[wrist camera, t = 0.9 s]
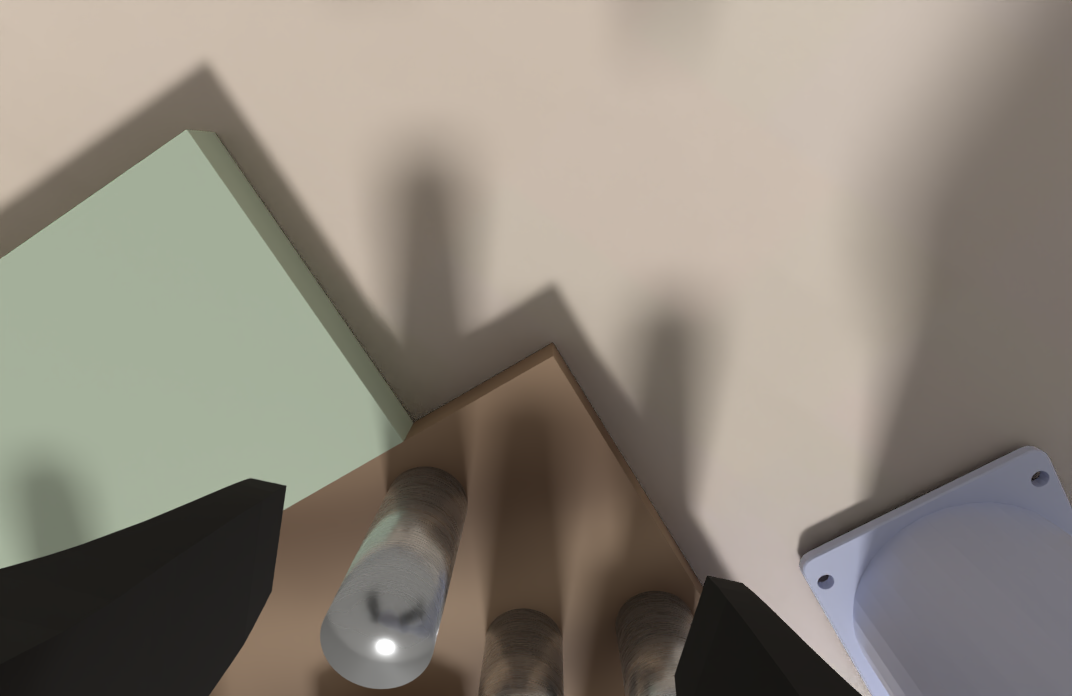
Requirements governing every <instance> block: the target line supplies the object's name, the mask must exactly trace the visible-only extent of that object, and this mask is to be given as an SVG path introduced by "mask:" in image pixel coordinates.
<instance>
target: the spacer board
mask: <svg viewBox="0 0 1072 696" xmlns="http://www.w3.org/2000/svg"><path fill="white" fill-rule="evenodd" d="M424 466H426V467H435V468H438V469H441V470H444V471H446V472H448V473H449V474H451V475H452V476H453V477H455V478H456V479H457V480H458V481H459V483H460V484H461V485H462V487H463V489H464V491H465V493H466V496H467V501H468V509H467V515H466V519H465V523H464V527H463V531H462V535H461V540H460V544H459V548H458V552H457V556H456V560H455V564H454V569H453V573H452V577H451V581H450V585H449V589H448V594H447V598H446V602H445V606H444V610H443V614H442V618H441V623H440V627H439V631H438V635H437V639H436V643H435V647H434V652H433V655H432V658H431V661H430V663H429V665H428V666H427V668H426V669H425V670H424V671H423V672H422V674H421V675H420V676H418V677H417V678H416V679H414V680H413V681H411V682H409V683H407V684H405V685H402V686H399V687H395V688H390V689H373V688H367V687H363V686H360V685H357V684H355V683H352V682H351V681H349V680H347V679H345V678H344V677H342V676H341V675H340V674H339V673H337V672H336V671H335V670H334V669H333V668H332V666H331V665H330V664H329V662H328V661H327V659H326V657H325V655H324V653H323V650H322V648H321V642H320V631H321V626H322V622H323V620H324V618H325V616H326V614H327V612H328V610H329V608H330V606H331V604H332V602H333V600H334V598H335V596H336V594H337V592H338V590H339V588H340V586H341V584H342V582H343V580H344V578H345V576H346V574H347V572H348V570H349V568H350V566H351V564H352V562H353V560H354V558H355V556H356V554H357V552H358V550H359V548H360V546H361V544H362V542H363V540H364V538H365V536H366V534H367V532H368V530H369V528H370V526H371V524H372V522H373V520H374V518H375V516H376V514H377V512H378V510H379V508H380V506H381V504H382V502H383V500H384V498H385V496H386V494H387V492H388V490H389V488H390V486H391V484H392V483H393V481H394V480H395V479H396V478H397V477H398V476H399V475H400V474H402V473H403V472H405V471H407V470H409V469H412V468H416V467H424ZM702 590H703V587H702V585H701V583H700V582H699V580H698V578H697V577H696V575H695V573H694V572H693V570H692V569H691V567H690V565H689V564H688V562H687V560H686V559H685V557H684V556H683V554H682V552H681V551H680V549H679V547H678V546H677V544H676V543H675V541H674V539H673V538H672V536H671V534H670V533H669V531H668V529H667V528H666V526H665V525H664V523H663V521H662V520H661V518H660V516H659V515H658V513H657V512H656V510H655V508H654V507H653V505H652V503H651V502H650V500H649V498H648V497H647V495H646V494H645V492H644V490H643V489H642V487H641V485H640V484H639V482H638V481H637V479H636V477H635V476H634V474H633V472H632V471H631V469H630V468H629V466H628V464H627V463H626V461H625V459H624V458H623V456H622V454H621V453H620V451H619V450H618V448H617V446H616V445H615V443H614V441H613V440H612V438H611V437H610V435H609V433H608V432H607V430H606V428H605V427H604V425H603V424H602V422H601V420H600V419H599V417H598V415H597V414H596V412H595V410H594V409H593V407H592V406H591V404H590V402H589V401H588V399H587V397H586V396H585V394H584V393H583V391H582V389H581V388H580V386H579V384H578V383H577V381H576V379H575V378H574V376H573V375H572V373H571V371H570V370H569V368H568V366H567V365H566V363H565V362H564V360H563V358H562V357H561V355H560V353H559V352H558V350H557V349H556V347H555V345H554V344H553V343H551V344H549V345H548V346H546V347H544V348H542V349H541V350H539V351H537V352H535V353H534V354H532V355H530V356H528V357H527V358H525V359H523V360H521V361H520V362H518V363H516V364H515V365H513V366H511V367H509V368H508V369H506V370H504V371H502V372H501V373H499V374H497V375H495V376H494V377H492V378H490V379H488V380H487V381H485V382H483V383H482V384H480V385H478V386H476V387H475V388H473V389H471V390H469V391H468V392H466V393H464V394H462V395H461V396H459V397H457V398H455V399H454V400H452V401H450V402H449V403H447V404H445V405H443V406H442V407H440V408H438V409H436V410H435V411H433V412H431V413H429V414H428V415H426V416H424V417H422V418H421V419H419V420H417V421H416V422H414V423H413V425H412V427H411V428H410V430H409V432H408V434H407V436H406V438H405V440H404V442H402V443H400V444H398V445H397V446H395V447H393V448H391V449H390V450H388V451H386V452H384V453H383V454H381V455H379V456H377V457H376V458H374V459H372V460H370V461H369V462H367V463H365V464H363V465H362V466H360V467H358V468H356V469H355V470H353V471H351V472H349V473H348V474H346V475H344V476H342V477H341V478H339V479H337V480H335V481H334V482H332V483H330V484H328V485H327V486H325V487H323V488H321V489H320V490H318V491H316V492H314V493H313V494H311V495H309V496H307V497H306V498H304V499H302V500H300V501H299V502H297V503H295V504H293V505H292V506H290V507H288V508H286V509H285V510H283V515H282V522H281V529H280V536H279V543H278V550H277V558H276V565H275V572H274V579H273V586H272V592H271V594H270V596H269V598H268V600H267V602H266V604H265V606H264V608H263V610H262V612H261V614H260V615H259V617H258V619H257V621H256V623H255V625H254V627H253V629H252V631H251V633H250V634H249V636H248V638H247V640H246V642H245V644H244V645H243V647H242V648H241V650H240V651H239V653H238V654H237V656H236V657H235V659H234V660H233V662H232V663H231V665H230V666H229V667H228V669H227V670H226V672H225V673H224V675H223V676H222V678H221V679H220V681H219V682H218V683H217V685H216V686H215V688H214V689H213V691H212V692H211V694H210V695H209V696H478V691H479V684H480V676H481V669H482V662H483V655H484V647H485V640H486V634H487V631H488V628H489V626H490V625H491V623H492V622H493V621H494V620H495V619H496V618H497V617H498V616H500V615H501V614H503V613H505V612H507V611H510V610H513V609H521V608H526V609H533V610H537V611H540V612H542V613H544V614H546V615H547V616H549V617H550V618H551V619H552V620H553V621H554V622H555V623H556V624H557V626H558V627H559V629H560V632H561V635H562V641H563V679H564V696H625V690H624V683H623V676H622V669H621V662H620V655H619V648H618V641H617V634H616V618H617V615H618V613H619V611H620V609H621V607H622V606H623V605H624V604H625V603H626V602H627V601H628V600H629V599H631V598H632V597H634V596H636V595H638V594H640V593H644V592H648V591H663V592H668V593H671V594H673V595H676V596H677V597H679V598H680V599H682V600H683V601H684V602H685V603H686V604H687V605H688V607H689V608H690V610H691V612H692V615H693V617H694V614H695V611H696V608H697V605H698V602H699V599H700V596H701V593H702Z"/></svg>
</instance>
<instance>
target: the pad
mask: <svg viewBox="0 0 1072 696" xmlns="http://www.w3.org/2000/svg"><path fill="white" fill-rule="evenodd" d="M413 423H414V422H413V421H412V419H411V418H410V417H409V415H408V414H407V412H406V411H405V409H404V408H403V406H402V405H401V403H400V402H399V401H398V399H397V398H396V396H395V395H394V393H393V392H392V390H391V389H390V387H389V386H388V384H387V383H386V382H385V380H384V379H383V377H382V376H381V374H380V373H379V371H378V370H377V368H376V367H375V366H374V364H373V363H372V361H371V360H370V358H369V357H368V355H367V354H366V352H365V351H364V349H363V348H362V347H361V345H360V344H359V342H358V341H357V339H356V338H355V336H354V335H353V333H352V332H351V331H350V329H349V328H348V326H347V325H346V323H345V322H344V320H343V319H342V317H341V316H340V314H339V313H338V312H337V310H336V309H335V307H334V306H333V304H332V303H331V301H330V300H329V298H328V297H327V296H326V294H325V293H324V291H323V290H322V288H321V287H320V285H319V284H318V282H317V281H316V279H315V278H314V277H313V275H312V274H311V272H310V271H309V269H308V268H307V266H306V265H305V263H304V262H303V261H302V259H301V258H300V256H299V255H298V253H297V252H296V250H295V249H294V247H293V246H292V244H291V243H290V242H289V240H288V239H287V237H286V236H285V234H284V233H283V231H282V230H281V228H280V227H279V226H278V224H277V223H276V221H275V220H274V218H273V217H272V215H271V214H270V212H269V211H268V209H267V208H266V207H265V205H264V204H263V202H262V201H261V199H260V198H259V196H258V195H257V193H256V192H255V191H254V189H253V188H252V186H251V185H250V183H249V182H248V180H247V179H246V177H245V176H244V174H243V173H242V172H241V170H240V169H239V167H238V166H237V164H236V163H235V161H234V160H233V158H232V157H231V156H230V154H229V153H228V151H227V150H226V148H225V147H224V145H223V144H222V142H221V141H220V139H219V138H218V137H217V135H216V134H215V132H207V131H198V130H188V129H186V130H185V131H183V132H182V133H181V134H179V135H178V136H176V137H175V138H173V139H172V140H171V141H169V142H168V143H166V144H165V145H163V146H162V147H160V148H159V149H158V150H156V151H155V152H153V153H152V154H150V155H149V156H148V157H146V158H145V159H143V160H142V161H140V162H139V163H137V164H136V165H135V166H133V167H132V168H130V169H129V170H127V171H126V172H125V173H123V174H122V175H120V176H119V177H117V178H116V179H114V180H113V181H112V182H110V183H109V184H107V185H106V186H104V187H103V188H101V189H100V190H99V191H97V192H96V193H94V194H93V195H91V196H90V197H89V198H87V199H86V200H84V201H83V202H81V203H80V204H78V205H77V206H76V207H74V208H73V209H71V210H70V211H68V212H67V213H66V214H64V215H63V216H61V217H60V218H58V219H57V220H55V221H54V222H53V223H51V224H50V225H48V226H47V227H45V228H44V229H43V230H41V231H40V232H38V233H37V234H35V235H34V236H32V237H31V238H30V239H28V240H27V241H25V242H24V243H22V244H21V245H20V246H18V247H17V248H15V249H14V250H12V251H11V252H9V253H8V254H7V255H5V256H4V257H2V258H1V259H0V569H1V568H5V567H8V566H12V565H15V564H19V563H22V562H26V561H30V560H33V559H37V558H40V557H44V556H47V555H50V554H53V553H56V552H60V551H63V550H66V549H69V548H72V547H75V546H78V545H81V544H84V543H87V542H89V541H92V540H95V539H97V538H100V537H103V536H106V535H108V534H111V533H114V532H116V531H119V530H122V529H125V528H127V527H130V526H133V525H135V524H138V523H141V522H143V521H146V520H149V519H151V518H153V517H156V516H158V515H161V514H163V513H165V512H168V511H170V510H173V509H175V508H177V507H180V506H182V505H185V504H187V503H189V502H192V501H194V500H196V499H199V498H201V497H204V496H206V495H208V494H211V493H213V492H215V491H218V490H220V489H222V488H225V487H227V486H230V485H232V484H235V483H237V482H240V481H243V480H246V479H249V478H253V479H258V480H262V481H267V482H272V483H276V484H281V485H286V493H285V501H284V508H283V510H285V509H286V508H288V507H290V506H292V505H293V504H295V503H297V502H299V501H300V500H302V499H304V498H306V497H307V496H309V495H311V494H313V493H314V492H316V491H318V490H320V489H321V488H323V487H325V486H327V485H328V484H330V483H332V482H334V481H335V480H337V479H339V478H341V477H342V476H344V475H346V474H348V473H349V472H351V471H353V470H355V469H356V468H358V467H360V466H362V465H363V464H365V463H367V462H369V461H370V460H372V459H374V458H376V457H377V456H379V455H381V454H383V453H384V452H386V451H388V450H390V449H391V448H393V447H395V446H397V445H398V444H400V443H402V442H404V440H405V438H406V436H407V434H408V432H409V430H410V428H411V427H412V425H413Z"/></svg>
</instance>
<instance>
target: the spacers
mask: <svg viewBox="0 0 1072 696" xmlns="http://www.w3.org/2000/svg"><path fill="white" fill-rule="evenodd" d="M467 509H468V501H467V496H466V493H465V491H464V489H463V487H462V485H461V484H460V483H459V481H458V480H457V479H456V478H455V477H453V476H452V475H451V474H449V473H448V472H446V471H444V470H441V469H438V468H435V467H426V466H424V467H416V468H412V469H409V470H407V471H405V472H403V473H402V474H400V475H399V476H398V477H397V478H396V479H395V480H394V481H393V483H392V484H391V486H390V488H389V490H388V492H387V494H386V496H385V498H384V500H383V502H382V504H381V506H380V508H379V510H378V512H377V514H376V516H375V518H374V520H373V522H372V524H371V526H370V528H369V530H368V532H367V534H366V536H365V538H364V540H363V542H362V544H361V546H360V548H359V550H358V552H357V554H356V556H355V558H354V560H353V562H352V564H351V566H350V568H349V570H348V572H347V574H346V576H345V578H344V580H343V582H342V584H341V586H340V588H339V590H338V592H337V594H336V596H335V598H334V600H333V602H332V604H331V606H330V608H329V610H328V612H327V614H326V616H325V618H324V620H323V622H322V626H321V631H320V642H321V648H322V650H323V653H324V655H325V657H326V659H327V661H328V662H329V664H330V665H331V666H332V668H333V669H334V670H335V671H336V672H337V673H339V674H340V675H341V676H342V677H344V678H345V679H347V680H349V681H351V682H352V683H355V684H357V685H360V686H363V687H367V688H373V689H390V688H395V687H399V686H402V685H405V684H407V683H409V682H411V681H413V680H414V679H416V678H417V677H418V676H420V675H421V674H422V672H423V671H424V670H425V669H426V668H427V666H428V665H429V663H430V661H431V658H432V655H433V652H434V647H435V643H436V639H437V635H438V631H439V627H440V623H441V618H442V614H443V610H444V606H445V602H446V598H447V594H448V589H449V585H450V581H451V577H452V573H453V569H454V564H455V560H456V556H457V552H458V548H459V544H460V540H461V535H462V531H463V527H464V523H465V519H466V515H467ZM692 620H693V615H692V612H691V610H690V608H689V607H688V605H687V604H686V603H685V602H684V601H683V600H682V599H680V598H679V597H677V596H676V595H673V594H671V593H668V592H663V591H648V592H644V593H640V594H638V595H636V596H634V597H632V598H631V599H629V600H628V601H627V602H626V603H625V604H624V605H623V606H622V607H621V609H620V611H619V613H618V615H617V618H616V634H617V641H618V648H619V655H620V662H621V669H622V676H623V683H624V690H625V696H676V689H675V678H674V675H675V672H676V669H677V666H678V663H679V660H680V657H681V654H682V651H683V648H684V644H685V641H686V638H687V635H688V632H689V629H690V626H691V623H692ZM478 696H564V679H563V641H562V635H561V632H560V629H559V627H558V626H557V624H556V623H555V622H554V621H553V620H552V619H551V618H550V617H549V616H547V615H546V614H544V613H542V612H540V611H537V610H533V609H526V608H521V609H513V610H510V611H507V612H505V613H503V614H501V615H500V616H498V617H497V618H496V619H495V620H494V621H493V622H492V623H491V625H490V626H489V628H488V631H487V634H486V640H485V647H484V655H483V662H482V669H481V676H480V684H479V691H478Z"/></svg>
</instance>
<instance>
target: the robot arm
mask: <svg viewBox="0 0 1072 696" xmlns="http://www.w3.org/2000/svg"><path fill="white" fill-rule="evenodd" d="M1039 471H1040V475H1039V477H1038V478H1037V479H1035V480H1033V481H1031V478H1032V476H1033V475H1034V474H1035V473H1036V472H1039ZM285 493H286V485H281V484H276V483H272V482H267V481H262V480H258V479H253V478H249V479H246V480H243V481H240V482H237V483H235V484H232V485H230V486H227V487H225V488H222V489H220V490H218V491H215V492H213V493H211V494H208V495H206V496H204V497H201V498H199V499H196V500H194V501H192V502H189V503H187V504H185V505H182V506H180V507H177V508H175V509H173V510H170V511H168V512H165V513H163V514H161V515H158V516H156V517H153V518H151V519H149V520H146V521H143V522H141V523H138V524H135V525H133V526H130V527H127V528H125V529H122V530H119V531H116V532H114V533H111V534H108V535H106V536H103V537H100V538H97V539H95V540H92V541H89V542H87V543H84V544H81V545H78V546H75V547H72V548H69V549H66V550H63V551H60V552H56V553H53V554H50V555H47V556H44V557H40V558H37V559H33V560H30V561H26V562H22V563H19V564H15V565H12V566H8V567H5V568H1V569H0V696H209V695H210V694H211V692H212V691H213V689H214V688H215V686H216V685H217V683H218V682H219V681H220V679H221V678H222V676H223V675H224V673H225V672H226V670H227V669H228V667H229V666H230V665H231V663H232V662H233V660H234V659H235V657H236V656H237V654H238V653H239V651H240V650H241V648H242V647H243V645H244V644H245V642H246V640H247V638H248V636H249V634H250V633H251V631H252V629H253V627H254V625H255V623H256V621H257V619H258V617H259V615H260V614H261V612H262V610H263V608H264V606H265V604H266V602H267V600H268V598H269V596H270V594H271V592H272V586H273V579H274V572H275V565H276V558H277V550H278V543H279V536H280V529H281V522H282V515H283V508H284V501H285ZM799 567H800V570H801V572H802V574H803V576H804V578H805V579H806V581H807V583H808V585H809V586H810V588H811V590H812V592H813V593H814V595H815V597H816V599H817V600H818V602H819V604H820V606H821V607H822V609H823V611H824V613H825V614H826V616H827V618H828V620H829V621H830V623H831V625H832V627H833V628H834V630H835V632H836V634H837V635H838V637H839V639H840V641H841V643H842V644H843V646H844V648H845V650H846V651H847V653H848V655H849V657H850V658H851V660H852V662H853V664H854V665H855V667H856V669H857V671H858V672H859V674H860V676H861V678H862V679H863V681H864V683H865V685H866V686H867V688H868V690H869V692H870V693H871V695H872V696H1072V507H1071V505H1070V502H1069V500H1068V498H1067V496H1066V493H1065V491H1064V489H1063V487H1062V484H1061V482H1060V480H1059V478H1058V476H1057V473H1056V471H1055V469H1054V467H1053V464H1052V462H1051V460H1050V458H1049V456H1048V455H1047V454H1046V453H1045V452H1044V451H1042V450H1040V449H1038V448H1036V447H1034V446H1025V447H1021V448H1019V449H1017V450H1015V451H1013V452H1011V453H1009V454H1007V455H1005V456H1003V457H1001V458H998V459H996V460H994V461H992V462H990V463H988V464H986V465H984V466H982V467H980V468H978V469H976V470H974V471H972V472H970V473H968V474H966V475H964V476H962V477H960V478H958V479H956V480H954V481H952V482H950V483H947V484H945V485H943V486H941V487H939V488H937V489H935V490H933V491H931V492H929V493H927V494H925V495H923V496H921V497H919V498H917V499H915V500H913V501H911V502H909V503H907V504H905V505H903V506H901V507H899V508H896V509H894V510H892V511H890V512H888V513H886V514H884V515H882V516H880V517H878V518H876V519H874V520H872V521H870V522H868V523H866V524H864V525H862V526H860V527H858V528H856V529H854V530H852V531H850V532H847V533H845V534H843V535H841V536H839V537H837V538H835V539H833V540H831V541H829V542H827V543H825V544H823V545H821V546H819V547H817V548H815V549H813V550H811V551H809V552H807V553H806V554H804V555H803V556H802V558H801V560H800V563H799ZM823 575H829V577H828V579H827V580H825V581H823V582H818V579H819V578H820V577H821V576H823ZM674 678H675V689H676V696H862V695H861V694H860V693H859V692H857V691H856V690H855V689H854V688H853V687H852V686H851V685H850V684H849V683H848V682H846V681H845V680H844V679H843V678H842V677H841V676H840V675H839V674H838V673H837V672H836V671H835V670H833V669H832V668H831V667H830V666H829V665H828V664H827V663H826V662H825V661H824V660H823V659H822V658H821V657H820V656H819V655H818V654H817V653H816V652H815V651H814V650H813V649H812V648H811V647H809V646H808V645H807V644H806V643H805V642H804V641H803V640H802V639H801V638H800V637H799V636H798V635H797V634H796V633H795V632H794V631H793V630H792V629H791V628H790V627H789V626H788V625H787V624H786V623H785V622H784V621H783V620H782V619H781V618H780V617H779V616H778V615H777V614H776V613H775V612H774V611H773V610H772V609H771V608H770V607H769V606H768V605H766V604H765V603H764V602H763V601H762V600H761V599H760V598H759V597H758V596H757V595H756V594H755V593H754V592H752V591H751V590H750V589H749V588H748V587H746V586H745V585H744V584H743V583H739V582H735V581H730V580H725V579H721V578H716V577H711V576H707V578H706V581H705V584H704V587H703V590H702V593H701V596H700V599H699V602H698V605H697V608H696V611H695V614H694V617H693V620H692V623H691V626H690V629H689V632H688V635H687V638H686V641H685V644H684V648H683V651H682V654H681V657H680V660H679V663H678V666H677V669H676V672H675V675H674Z"/></svg>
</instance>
